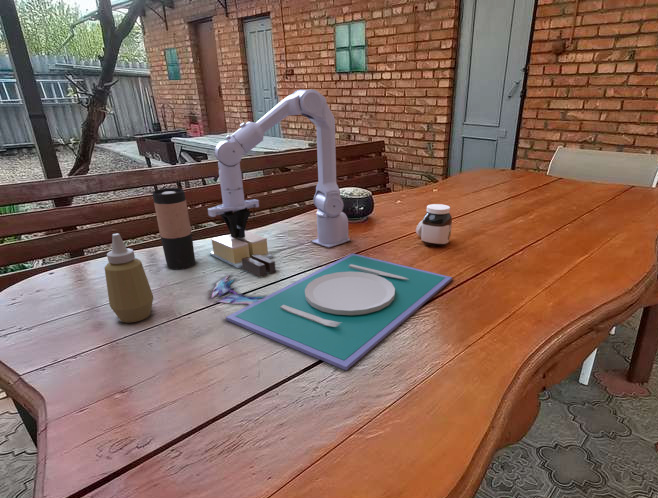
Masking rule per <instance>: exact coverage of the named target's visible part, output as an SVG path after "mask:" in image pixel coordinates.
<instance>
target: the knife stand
mask: <svg viewBox="0 0 658 498" xmlns="http://www.w3.org/2000/svg"><path fill="white" fill-rule="evenodd" d="M242 265H243V267H242V270H244V271H246V272H249V273H251V274H252V275H255V276H257V277H259V278H262V277H265V276H267V274H269V275H271V274H274V273H276V272H277V269H276V261H275V260H273V259H272V258H270V259H268V258H266V257H263V256H261V255H259V254H255V255H252V259H251V258H249V257H245V258H242Z"/></svg>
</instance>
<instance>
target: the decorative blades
mask: <svg viewBox="0 0 658 498" xmlns="http://www.w3.org/2000/svg"><path fill="white" fill-rule="evenodd" d="M229 277H230V275H227V276H225V277H222V278H221V279H220V280H219V281H217V282H216V283H215V286H214V288H213V289H212V290H211V299H213V298H215V297H216V296H218V297H220V298H221V299H220V300H216V302H217V303H223V304H224V303H225V304H231V305H238V304H239V305H247V306H249V305H251V304H253V303H255V302H257V301H259V300H260V299H263V298H264V297H265V296H264V295H263V296H247V295H246V296H245V294H244V293H238V292H236V291H235V290H234V289H235V287H231V284H232V283H233V282H234V281H235V279H232V280H231V279H230V280H229V279H228V278H229ZM225 295H226V296H225Z"/></svg>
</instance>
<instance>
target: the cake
mask: <svg viewBox="0 0 658 498" xmlns="http://www.w3.org/2000/svg"><path fill="white" fill-rule="evenodd" d="M244 238H245V239H246V243H245V242H243V241H240V240H238V239H236V238H233V237H231V235H229V234H226V235H220V236H217V237H213V238H211V244H212V251H209V255H210V256H212V257H214V258H216V259H218V260H220V261H222V262H225V263H226V264H228V265H230V266H233V267H234V268H237V269H243V265H242V258H245V257H249V258H251V259H252V255H255V254H259V255H261V256H263V257H266V258H268V259H273V257H274V256H273V254H270V253H269V250H268V249H269V248H268V239H267V238H266V237H264V236H262V235H258V234H257V233H253V232H250V231H248V230H245V237H244Z"/></svg>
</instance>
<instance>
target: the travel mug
mask: <svg viewBox="0 0 658 498" xmlns="http://www.w3.org/2000/svg"><path fill="white" fill-rule="evenodd" d="M151 193H152V199H153V204H154V205H153V206H154V209H155V215H156V221H157V226H158V231H159V236H160V241H161V245H162V250H163V254H164V258H165V262H166V266H167V268H168V269H170V270H171V269H172V270H184V269H188V268H190V267H192V266H194V265H195V264H196V256H195V249H194V242H193V233H192V227H191V222H190V216H189V210H188V204H187V199H186V194H185V190H184V189H183V188H179V187H168V188H159V189H156V190H154V191H152V192H151Z"/></svg>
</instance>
